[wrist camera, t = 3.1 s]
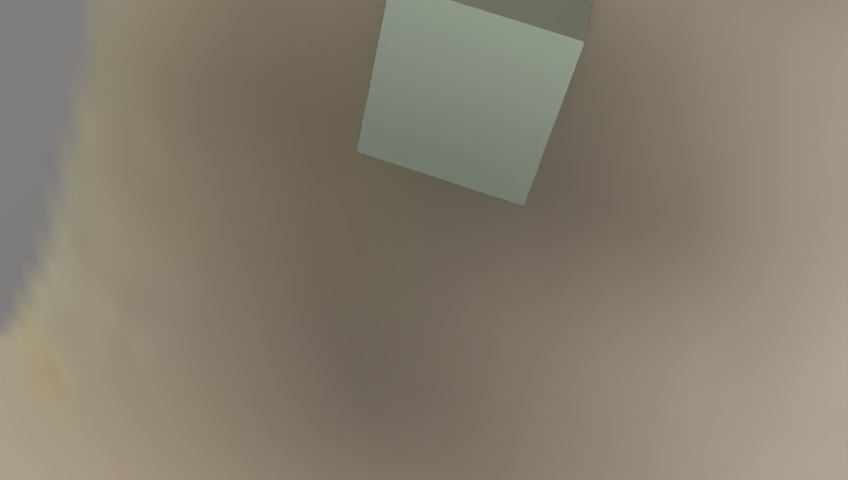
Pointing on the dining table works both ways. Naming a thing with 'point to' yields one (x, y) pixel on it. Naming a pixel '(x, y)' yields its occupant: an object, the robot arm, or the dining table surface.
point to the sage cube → (472, 88)
